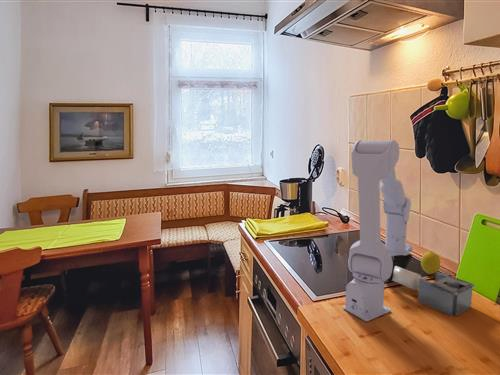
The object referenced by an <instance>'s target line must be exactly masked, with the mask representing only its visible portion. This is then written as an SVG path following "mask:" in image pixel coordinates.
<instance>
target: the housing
mask: <svg viewBox="0 0 500 375" xmlns="http://www.w3.org/2000/svg"><path fill="white" fill-rule="evenodd" d="M448 280H453V281H457V282H459V283H460V285H459V289H457V288H454V287H451V286H449V285H447V281H448ZM475 285H476V284H475V283H473V282H469V281H467V280H463V279H460V278H457V277H455V276H451V275H449V274H446V273H442V272H439V271H437V272H436V273H435V281H433V282H432V281H429V280H426V279H424V278H422V279H419V288H418V293H417V294H418V295H417V302H418V303H421V304H423V305H425V306H428V307H430V308H432V309H434V310H437V311H438V312H441V313H444V314H446V315H447V316H450V317H453V316H454V317H457V316H459V315H461V314H463V313H465V312H467V311H469V310H470V309H471V308H472V296H473V288H474V287H475Z"/></svg>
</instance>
